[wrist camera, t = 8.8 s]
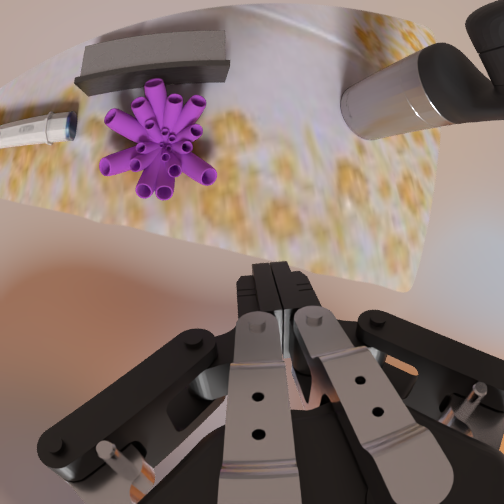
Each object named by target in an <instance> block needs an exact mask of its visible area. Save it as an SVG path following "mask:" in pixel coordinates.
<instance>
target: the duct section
mask: <svg viewBox="0 0 504 504" xmlns="http://www.w3.org/2000/svg"><path fill="white" fill-rule="evenodd" d="M229 67H230V60H225V31H184V32H170V33H159V34H150V35H142V36H135V37H129V38H123V39H117V40H112V41H107V42H102V43H98V44H94V45H89V46H85V51H84V57H83V63H82V69H81V76H80V77H76V78H75V81H74V84H75V85H77V86H78V87H79V88H80V89H81V90H82V91H83V92H84V93H85V94H86V95H88V96H93V95H98V94H103V93H108V92H114V91H120V90H127V89H134V88H141V87H144V86H145V83H146V82H147V81H149V80H151V79H155V78H160V79H162V80H163V82H164V84H165V85H170V84H185V83H209V82H225V80H226V77H227V74H228V71H229Z"/></svg>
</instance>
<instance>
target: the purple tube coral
mask: <svg viewBox="0 0 504 504" xmlns="http://www.w3.org/2000/svg"><path fill="white" fill-rule="evenodd" d="M144 90H145V98H144V97H138V98H136V99H135V100H133V102H132V103H131V108H132V111H133V113H134V115H135V117H136V118H135V117H133V116H131V115H129V114H127V113H125V112H123V111H121V110H119V109H116V108H113V109H111V110H110V111H109V112H108V113H107V115H106V117H105V119H104V122H105V124H106V125H107V126H108V127H109V128H111V129H112V130H114V131H115V132H117V133H119V134H120V135H122V136H124V137H126V138H128V139H130V140H132V141H134V142H136V143H138V144H137V146H134V147H131V148H128V149H125V150H122V151H119V152H117V153H114V154H111V155H108V156H106V157H104V158H102V159H101V161H100V164H99V168H100V171H101V173H102V174H103V175H104V176H111V175H116V174H119V173H122V172H125V171H128V170H132V171H133V172H138V171H141V170H143V169H144V171H143V173H142V175H141V177H140V179H139V181H138V183H137V186H136V194H137V195H138V196H139V197H141V198H148V197H150V196H151V195H152V194H153V192H154V191H155V194H156V196H157V197H158V198H159V199H160V200H168V199H170V198H171V197H172V195H173V192H174V183H175V177H178V176H179V175H180V174H181V172H183V173H185V174H186V175H188V176H189V177H190V178H192V179H193V180H195V181H197V182H199V183H200V184H202V185H206V186H208V185H211V184H213V183H214V182H215V180H216V178H217V172H216V170H215V169H214V168H213V167H212V166H211V165H209V164H208V163H207V162H205V161H204V160H202V159H201V158H199V157H198V156H197V155H195V154H194V153H192V152H191V150H192V149H193V145H192V143H191V142H193V141H195V140H197V139H198V138H199V137H200V136H201V135H202V133H203V129H202V127H201V126H200V125H198V124H194V123H195V122H196V121H197V119H198V118H199V117H200V115H201V114H202V112H203V110H204V109H205V106H206V100H205V99H204V98H203V97H202V96H200V95H194V96H192V97H191V98H190V99H189V100H188V101H187V102H186V104H185V105H184V106H183V98H182V96H181V95H179V94H171V95H169V96H168V97H167V92H166V88H165V84H164V82H163V80H162V79H160V78H155V79H151V80H149V81H147V82H146V83H145V86H144ZM182 107H183V108H182Z"/></svg>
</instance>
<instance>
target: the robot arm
mask: <svg viewBox="0 0 504 504" xmlns="http://www.w3.org/2000/svg"><path fill="white" fill-rule="evenodd" d="M465 27H466V30H467V33H468V35H469V37H470V39H471V41H472V43H473V45H474V47H475V49H476V51H477V53H480V54H479V57H480V58H481V61H482V63H483V65H484V67H485V69H486V71H487V73H488V75H489V77H490V79H491V81H490V80H489V79H488V78H486V77H485V76H484V75H483V74H482V73H481V72H480V71H479V70H478V69H477V68H476V67H475V66H474V64H473V63H472V62H471V61H470V60H469V59H468V58H467V57H466V56H465V55H464V54H463V53H462V52H461V51H460V50H458V49H457V48H455V47H454V46H452V45H450V44H446V43H436V44H433V45H430V46H428V47H426V48H424V49H422V50H420V51H417V52H415V53H413V54H411V55H409V56H407V57H405V58H403V59H401V60H399V61H397V62H395V63H394V64H392V65H390V66H388V67H386V68H384V69H382V70H380V71H378V72H376V73H375V74H373V75H371V76H369V77H367V78H365V79H364V80H362V81H360V82H358V83H357V84H355V85H353V86H351V87H350V88H348V89H347V90H346V91H345V92H344V94H343V96H342V100H341V111H342V115H343V118H344V120H345V122H346V124H347V125H348V127H349V128H350V129H351V130H352V131H353V132H354V133H355V134H356V135H358V136H360V137H361V138H364V139H367V140H375V139H380V138H385V137H389V136H394V135H399V134H404V133H409V132H414V131H419V130H424V129H430V128H436V127H441V126H446V125H452V124H461V123H467V122H480V121H491V120H504V0H498V1H495V2H493V3H490V4H487V5H485V6H483V7H481V8H479V9H477V10H475V11H474V12H473V13H472V14H470V15H469V17H468V18H467V20H466V23H465ZM236 285H237V302H238V321H237V323H236V326H235V328H234V329H232V330H231V331H229V332H227V333H225V334H223V335H219V336H216V337H214V335H213V334H212V333H211V332H209V331H207V330H204V329H190V330H186V331H184V332H182V333H180V334H179V335H177V336H176V337H175V338H173V339H172V340H171V341H169V342H168V343H167V344H165V345H164V346H163V347H162V348H160V349H159V350H157V351H156V352H155V353H153V354H152V355H151V356H149V357H148V358H147V359H145V360H144V361H143V362H141V363H140V364H139V365H137V366H136V367H134V368H133V369H132V370H131V371H129V372H128V373H126V374H125V375H124V376H122V377H121V378H119V379H118V380H117V381H116V382H114V383H113V384H111V385H110V386H109V387H107V388H106V389H104V390H103V391H102V392H100V393H99V394H97V395H96V396H95V397H93V398H92V399H90V400H89V401H88V402H86V403H85V404H84V405H82V406H81V407H79V408H78V409H76V410H75V411H74V412H72V413H71V414H69V415H68V416H66V417H65V418H64V419H62V420H61V421H59V422H58V423H57V424H55V425H54V426H52V427H51V428H49V429H48V430H46V431H45V432H44V433H43V434H42V435H41V437H40V438H39V441H38V444H37V453H38V456H39V458H40V460H41V461H42V462H43V463H44V464H45V465H46V466H47V467H49V468H50V469H51V470H52V471H54V472H55V473H56V474H57V475H58V476H59V477H60V478H61V479H63V480H64V481H65V482H67V483H68V484H69V485H71V487H72V488H73V489H74V491H75V492H76V493H77V494H78V496H79V497H80V498H81V500H82V501H83V502H84V503H85V504H504V454H503V453H502V452H501V451H499V448H500V445H501V441H502V438H503V434H504V360H502V359H499V358H497V357H494V356H491V355H489V354H487V353H484V352H482V351H479V350H476V349H474V348H472V347H469V346H467V345H465V344H462V343H460V342H457V341H455V340H452V339H450V338H447V337H445V336H442V335H440V334H438V333H435V332H433V331H430V330H428V329H425V328H423V327H421V326H418V325H416V324H413V323H411V322H408V321H406V320H403V319H401V318H398V317H396V316H394V315H391V314H389V313H387V312H384V311H380V310H368V311H365V312H364V313H362V314H361V315H360V316H359V318H358V322H355V321H342V320H337V319H336V318H335V316H334V315H333V313H332V312H331V311H330V310H328V309H326V308H324V307H322V306H321V304H320V302H319V300H318V298H317V296H316V294H315V292H314V290H313V288H312V286H311V284H310V281H309V279H308V278H307V276H305V275H304V274H303V273H302V272H300V271H294V272H291V270H290V268H289V266H288V263H287V261H282V262H270V264H269V263H259V264H252V275H250V276H241V277H240V278H239V280H238V281H237V284H236ZM282 354H283V358H291V361H292V376H293V379H294V381H295V384H296V387H297V390H298V393H299V396H300V398H301V401H302V404H303V407H304V410H290V402H289V394H288V385H287V376H286V368H285V362H284V361H283V360H282ZM387 355H390V356H392V357H394V358H396V359H399V360H400V361H403V362H405V363H407V364H409V365H412V366H413V367H415V368H416V369H417V371H418V374H419V375H417V376H415V375H411V374H409V373H407V372H405V371H403V370H400V369H398V368H396V367H394V366H392V365H390V364H388V363H386V362H385V360H386V357H387ZM226 395H228V398H227V411H226V424H225V425H223V426H221V427H219V428H217V429H215V430H214V431H212V432H211V433H209V434H208V435H206V436H205V437H204V438H203V439H202V440H201V441H200V442H199V443H198V444H197V445H196V446H195V447H194V448H193V449H192V450H191V451H190V452H189V453H188V454H187V455H186V456H185V457H184V459H183V460H181V461H180V463H179V464H178V465H177V466H176V467H175V468H174V469H173V470H172V471H171V472H170V473H169V474H168V475H166V476H165V477H164V478H163V479H162V480H161V481H160V482H159V483H158V484H157V485H156V486H155V487H154V488H153V489H152V490H151V491H150V492H149V490H150V489H151V488H152V487H153V485H154V482H155V472H154V470H153V468H154V467H155V466H157V465H158V464H159V463H160V462H161V461H162V460H163V459H164V458H166V456H168V455H169V454H170V453H171V452H172V451H173V450H174V449H175V448H176V447H178V446H179V445H180V444H181V443H182V442H183V441H184V440H185V439H186V438H187V437H188V436H189V435H190V434H191V433H192V432H193V431H194V430H195V429H196V428H197V427H199V426H200V425H201V424H202V422H204V420H206V419H207V418H208V416H210V415H211V414H212V413H213V412H214V411H215V410H216V409H217V408H218V407H219V405H220V404H221V403H222V402H223V401H224V399H225V396H226ZM148 492H149V493H148ZM147 493H148V494H147Z"/></svg>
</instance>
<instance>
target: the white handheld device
mask: <svg viewBox="0 0 504 504" xmlns="http://www.w3.org/2000/svg"><path fill="white" fill-rule="evenodd" d="M76 127H77V114H76V113H75V112H74V111H72V112H63V113H53V112H52V111H50V112H49V113H48V115H42V116H37V117H32V118H28V119H23V120H19V121H15V122H11V123H7V124H3V125H0V148H7V147H14V146H22V145H31V144H41V143H46V144H48V145H52V144H53V142H62V141H73V140H74V138H75V135H76Z"/></svg>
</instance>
